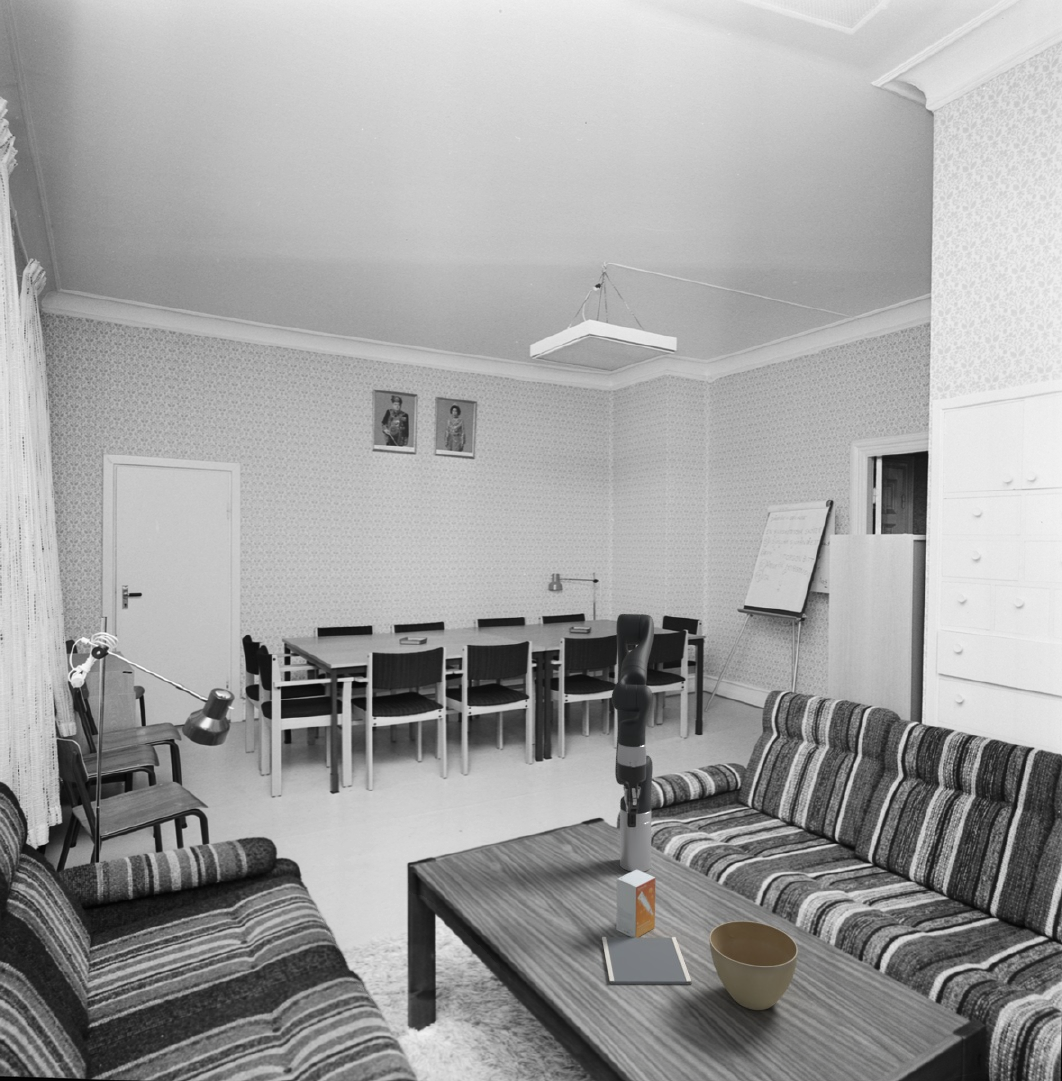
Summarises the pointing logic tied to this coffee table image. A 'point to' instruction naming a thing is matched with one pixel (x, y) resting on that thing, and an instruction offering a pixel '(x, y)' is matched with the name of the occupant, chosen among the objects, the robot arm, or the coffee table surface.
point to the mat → (644, 961)
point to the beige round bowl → (753, 962)
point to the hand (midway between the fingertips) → (631, 826)
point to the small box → (635, 903)
